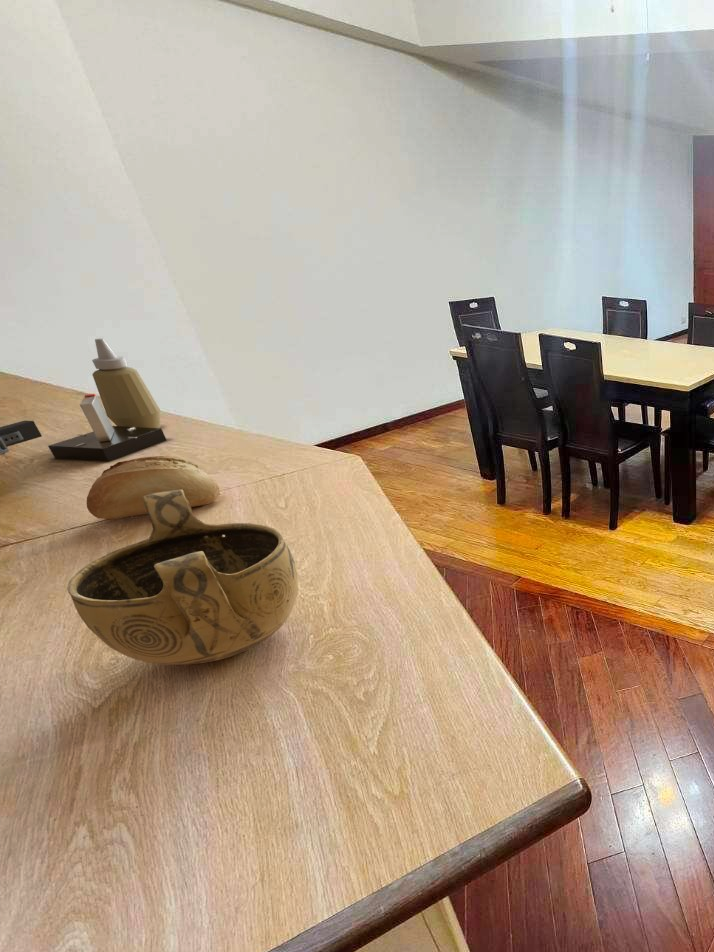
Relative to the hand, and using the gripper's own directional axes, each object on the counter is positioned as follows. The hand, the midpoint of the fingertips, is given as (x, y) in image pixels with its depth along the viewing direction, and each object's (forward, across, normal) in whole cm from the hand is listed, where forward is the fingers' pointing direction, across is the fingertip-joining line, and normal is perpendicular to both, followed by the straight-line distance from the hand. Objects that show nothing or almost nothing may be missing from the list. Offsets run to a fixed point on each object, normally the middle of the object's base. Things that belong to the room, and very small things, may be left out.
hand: (33, 428), depth 99 cm
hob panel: (+11, 0, -7) cm, 13 cm away
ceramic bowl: (-43, +65, -8) cm, 78 cm away
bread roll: (-13, +30, -8) cm, 34 cm away
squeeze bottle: (+22, -5, -8) cm, 24 cm away
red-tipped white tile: (+11, 0, -5) cm, 12 cm away
